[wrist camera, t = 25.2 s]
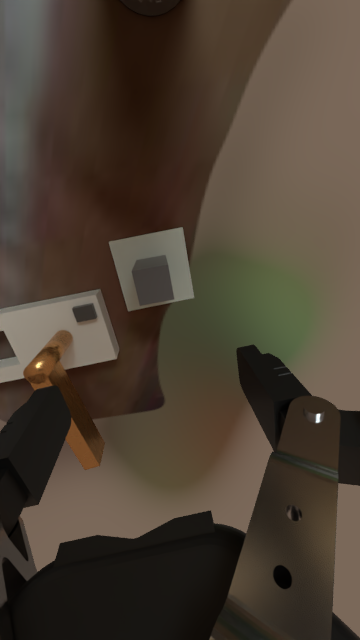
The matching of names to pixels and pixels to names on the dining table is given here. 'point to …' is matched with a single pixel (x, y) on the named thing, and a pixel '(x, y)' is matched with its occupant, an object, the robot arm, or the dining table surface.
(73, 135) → the dining table surface
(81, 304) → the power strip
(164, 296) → the plug
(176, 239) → the mat
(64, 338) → the orange lever handle
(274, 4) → the dining table surface
